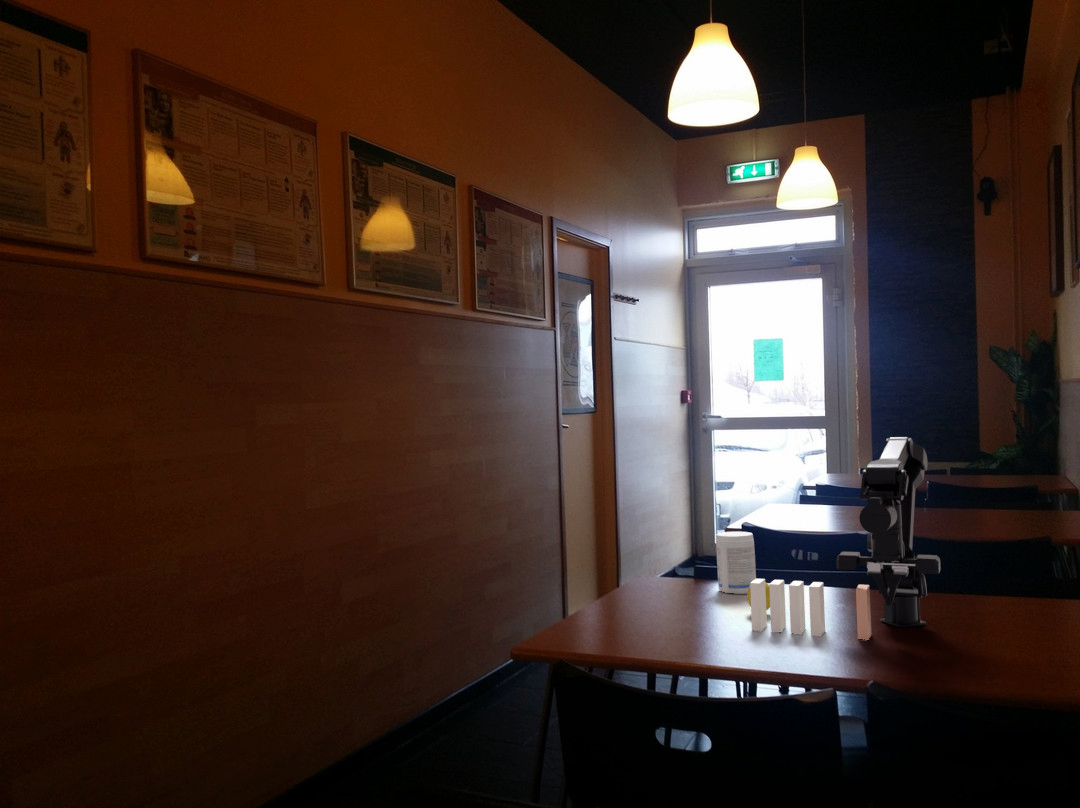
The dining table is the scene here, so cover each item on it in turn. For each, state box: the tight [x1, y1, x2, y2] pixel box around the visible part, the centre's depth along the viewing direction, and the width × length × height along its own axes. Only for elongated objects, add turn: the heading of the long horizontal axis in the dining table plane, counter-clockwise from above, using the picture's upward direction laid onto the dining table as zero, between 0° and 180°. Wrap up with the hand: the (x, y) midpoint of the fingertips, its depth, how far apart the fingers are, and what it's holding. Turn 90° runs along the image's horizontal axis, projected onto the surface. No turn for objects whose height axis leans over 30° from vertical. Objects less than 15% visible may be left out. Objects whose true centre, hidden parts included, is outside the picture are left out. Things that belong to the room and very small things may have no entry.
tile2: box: [808, 581, 826, 637], centre depth 176 cm, size 2×5×10 cm, turn 152°
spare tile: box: [855, 584, 872, 641], centre depth 172 cm, size 2×5×10 cm, turn 153°
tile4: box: [768, 579, 787, 633], centre depth 180 cm, size 2×5×10 cm, turn 152°
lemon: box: [746, 581, 770, 611], centre depth 194 cm, size 6×6×8 cm
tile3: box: [788, 580, 806, 635], centre depth 178 cm, size 2×5×10 cm, turn 153°
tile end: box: [750, 578, 768, 632], centre depth 182 cm, size 2×5×10 cm, turn 152°
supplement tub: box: [715, 531, 757, 595], centre depth 219 cm, size 10×10×15 cm
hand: (889, 606), depth 170 cm, fingers closed
